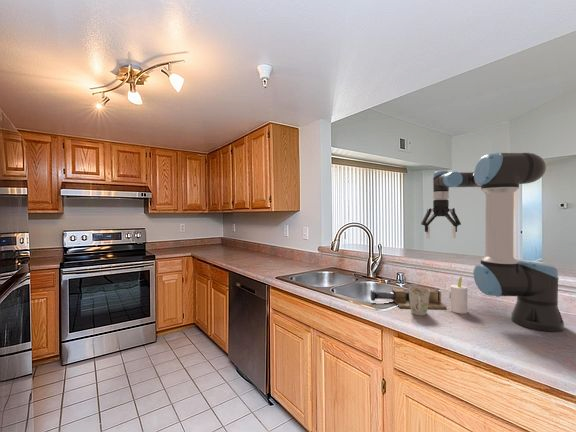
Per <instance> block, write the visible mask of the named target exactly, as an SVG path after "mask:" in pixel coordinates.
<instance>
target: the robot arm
mask: <svg viewBox="0 0 576 432" xmlns="http://www.w3.org/2000/svg"><path fill="white" fill-rule="evenodd" d="M546 170H547V164H546V162H545V160H544V158H542V157H541V156H539V155H538V154H535V153H531V152H494V153H488V154H485V155H483V156H481V157H480V159H479V160H478V161H477V163H476V165H475V168H474V172H470V171H469V172H468V171H466V172H458V171H450V172H449V171H447V170H438V171H437V170H436V171H434V172H433V176H432V181H433V182H432V185H433V187H432V188H433V191H432V193H433V195H432V196H433V197H432V199H433V202H432V204H433V205H432V206H433V208H430V207H428V208H427V209H426V213H425V215H424V217H423V219H422V221H421V223H420V225H421V226H424V232H426V234H425V236H426V238H427V239H430V237H431V235H430V234H431V232H430V230H431V229H430V228H431V227H430V224H431V223H432V222H433V221H434V220H435V219H436V218H437V217H445V218H446V219H447V220H448V222H449V223H450V224H451V238H452V239H456V233H457V232H458V227H459V226H460V225H462V223H461V221H460V219H459V217H458V215H457V213H456V209H455V207H451V208H449V206H450V205H449V204H450V201H449V199H450V198H449V197H450V194H449V193H450V188H480V189H481V192H484V194H485V234H484V235H485V237H484V238H485V243H484V245H485V247H484V248H485V249H484V250H485V251H484V253H485V254H484V256H483V257H480V263H479V264H476V265H475V266H474V269H473V274H472V275H473V280H474V283H475V285H476V286H477V288H478V290H479V291H480V292H481V293H482V294H484V295H485V296H491V297H496V298H498V297H516V301H515V302H516V303H515V305H514V307H513V309H512V312H511V316H510V318H511V321H512V322H513V323H515V324H517V325H519V326H522V327H524V328H525V327H526V328H528V329H532V330H537V331H543V332H551V333H554V332H556V333H557V332H562V331H563V332H564V330H565V322H564V320H563V317H562V315H561V312H560V309H559V306H558V305H559V303H558V302H559V280H560V278H559V271H558V268H556V267H555V266H554V265H553V266H552V265H549V264H545V263H538V262H533V261H528V260H527V261H526V260H517V259H516V258H515V257H514V208H515V205H514V204H515V203H514V198H515V197H514V196H515V195H514V194H515V192H517V191H518V190H519V189H520V185H522V184H524V185H525V184H531V183H534V182H536V181H538V180H540V179H541V178H542V177H543V176H544V174H545V172H546ZM432 212H433V213H432ZM449 213H450V214H451V215H450V214H449ZM431 214H432V215H431ZM430 215H431V216H430Z"/></svg>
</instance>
